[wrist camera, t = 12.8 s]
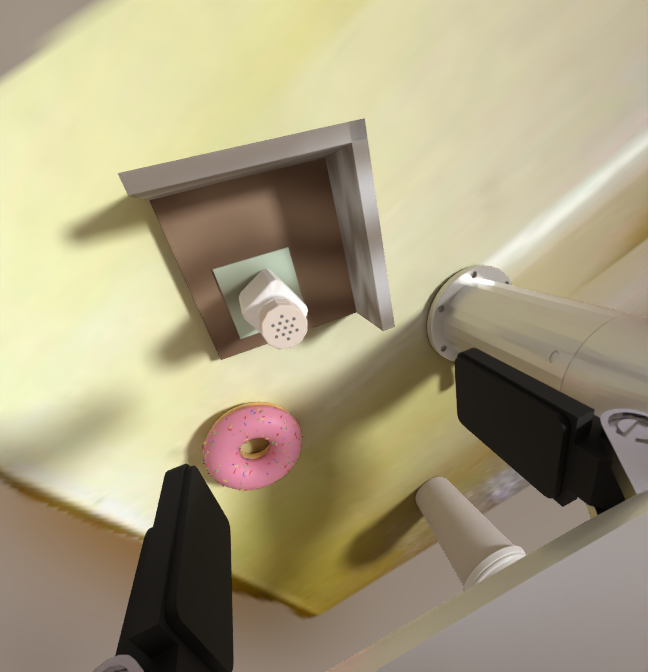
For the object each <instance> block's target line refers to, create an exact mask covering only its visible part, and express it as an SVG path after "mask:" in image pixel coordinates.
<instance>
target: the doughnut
mask: <svg viewBox="0 0 648 672" xmlns="http://www.w3.org/2000/svg"><path fill="white" fill-rule="evenodd" d="M302 437H303V436H302V432H301V429H300V426H299V424H298V422H297V420H295V418H294V417H293V416H292V415H291V413H289V412H288V411H287V410H285V409H284V408H282V407H280V406H278V405H275V404H272V403H267V402H252V403H246V404H243V405H240V406H237V407H235V408H233V409H231V410H229V411H228V412H226V413H225V414H223V415H222V416H221V417H220V418H219V419H218V420H217V421H216V422H215V423H214V425H213V426H212V428H211V429H210V431H209V433H208V435H206V439H205V442H204V446H203V450H202V451H203V457H204V460H203V461H204V462H205V463H203V464H205V465H206V467H207V469H208V470H207V471H209V472H210V473H208V474H211V475H212V477H213V478H214V479H215V480H217V482H219V483H221V484H222V485H223V487H224V486H227V487H230V488H233V489H238V490H242V491H243V490H245V491H246V490H254V489H258V488H262V487H265V486H268V485H270V484H272V483H274V482H277V481H278V480H279V479H281V478H282V477H283V476H284V475H286V474H287V473H288V472H289V471H290V469H291V468H292V467H293V466H294V464H295V463H296V461H297V459H298V457H299V454H300V450H301V446H302ZM254 438H263V439H264V440H266V439H267V440H269V442H270V444H269V445H268V446H267V448H265V449H264V450H262V451H260V452H258V453H254V454H247V453H243V452H241V451H240V449H241V448H240V446H241V445H242V444H244V443H246V442H248V440H251V439H254ZM296 464H297V463H296Z"/></svg>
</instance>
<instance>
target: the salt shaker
mask: <svg viewBox="0 0 648 672" xmlns="http://www.w3.org/2000/svg"><path fill="white" fill-rule="evenodd" d="M239 302H240V306H241V311H242V315H243V317H244V319H245V320H246V321H247V322H248V323H249V324H250V325H252V326H253V327H254V328H255V329H256V330H257V331H259V332H260V333H261V334H262V336H263V337H264V339H265V340H266V342H267V343H268V345H271V346H273V347H275V348H278V349H287V348H292V347H294V346H295V345H297V344H298V343H300V342H301V341H302V340H303V338H304V336H305V335H306V333H307V319H306V315H307V312H308V309H307V306H306V305H305V304H304V303H303V302H302V301H301V299H300V298H299V297H298V296H297V295H296V294H295V293H294V292H293V291H292V290H291V289H290V288H289V287H288V286H287V285H286V284H285V283H284V282H283V281H282V280H281V279H280V278H279V277H278V276H276V275H275V274H274V273H273V272H272V271H271V270H269V269H267V268H266V269H264V270H262V271H261V272H260V273H259V274H258V275H257V276H256V277H255V278H254V279H253V280H252V281H251V282H250V283H249V284H248V285H247V286H246V287H245V288H244V289H243V290H242V291H241V293H240V295H239Z"/></svg>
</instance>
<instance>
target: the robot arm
mask: <svg viewBox="0 0 648 672" xmlns="http://www.w3.org/2000/svg"><path fill="white" fill-rule="evenodd" d="M427 333H428V338H429V341H430V343H431V346H432V347H433V348H434V350H435V351H436V352H437V353H438V354H440V355H441V356H442V357H444V358H446V359H448V360H450V361H454V362H455V380H456V398H457V415H458V419H459V421H460V422H461V423H462V425H463V426H465V427H466V428H467V429H468V430H469V431H470V432H472V433H473V434H474V435H475V436H476V437H477V438H478V439H480V440H481V441H482V442H483V443H484V444H485V445H486V446H488V447H489V448H490V449H491V450H492V451H493V452H495V453H496V454H497V455H498V456H499V457H500V458H501V459H503V460H504V461H505V462H506V463H507V464H508V465H509V466H511V467H512V468H513V469H514V470H515V471H516V472H518V473H519V474H520V475H521V476H522V477H523V478H524V479H526V480H527V481H528V482H529V483H530V484H531V485H532V486H534V487H535V488H536V489H537V490H538V491H539V492H541V493H542V494H543V495H544V496H546V497H547V498H553V499H554V500H555V501H557V502H558V503H559V504H560V505H561V506H562V507H563V506H565V505H567V504H569V503H571V502H572V501H574V500H576V499H577V497H579V498H580V499H581V500H583V501H584V502H585V503H586V505H587V507H588V511H589V514H590V517H591V519H590V520H588V521H586V522H584V523H583V524H581V525H579V526H577V527H576V528H574V529H572V530H570V531H569V532H567V533H565V534H563V535H562V536H560V537H558V538H556V539H554V540H553V541H551V542H549V543H547V544H546V545H544V546H542V547H540V548H539V549H537V550H535V551H533V552H532V553H530V554H528V555H526V556H525V557H523V558H521V559H519V560H517V561H516V562H514V563H512V564H510V565H509V566H507V567H505V568H503V569H502V570H500V571H498V572H497V573H495V574H493V575H491V576H490V577H488V578H486V579H484V580H483V581H481V582H479V583H477V584H476V585H474V586H472V587H470V588H469V589H467V590H465V591H463V592H462V593H460V594H458V595H457V596H455V597H453V598H451V599H450V600H448V601H446V602H444V603H443V604H441V605H439V606H437V607H436V608H434V609H432V610H431V611H429V612H427V613H425V614H423V615H422V616H420V617H418V618H417V619H415V620H413V621H411V622H410V623H408V624H406V625H404V626H403V627H401V628H399V629H398V630H396V631H394V632H392V633H391V634H389V635H388V636H386V637H384V638H382V639H381V640H379V641H377V642H375V643H374V644H372V645H370V646H368V647H367V648H365V649H363V650H362V651H360V652H358V653H356V654H355V655H353V656H351V657H350V658H348V659H346V660H344V661H343V662H341V663H339V664H338V665H336V666H334V667H332V668H331V669H329V670H327V671H326V672H648V318H647V317H643V316H639V315H635V314H630V313H626V312H622V311H618V310H614V309H609V308H605V307H601V306H597V305H593V304H588V303H584V302H580V301H576V300H572V299H567V298H563V297H559V296H555V295H551V294H546V293H542V292H538V291H534V290H530V289H526V288H521V287H517V286H513V285H512V283H511V281H510V279H509V278H508V276H507V275H506V274H505V273H504V272H503V271H501V270H500V269H498V268H495V267H492V266H485V265H476V266H471V267H468V268H465V269H463V270H461V271H459V272H458V273H456V274H455V275H454V276H452V277H451V278H450V279H449V280H448V281H447V282H446V283H445V284H444V285H443V286H442V288H441V289H440V290H439V292H438V293H437V295H436V297H435V299H434V301H433V302H432V305H431V308H430V311H429V315H428V320H427ZM232 621H233V620H232V578H231V535H230V525H229V521H228V519H227V517H226V515H225V514H224V512H223V510H222V509H221V507H220V505H219V504H218V502H217V500H216V499H215V497H214V495H213V494H212V492H211V490H210V489H209V487H208V485H207V484H206V482H205V480H204V479H203V477H202V475H201V474H200V472H199V470H198V469H197V467H196V466H191V467H190V466H189V465H188V464H183V465H181V466H178V467H176V468H173V469H171V470H169V471H167V472H166V473H165V476H164V481H163V485H162V490H161V494H160V499H159V503H158V507H157V512H156V516H155V521H154V525H153V527H152V528H150V529H149V530H148V531H147V532H146V535H145V537H144V541H143V545H142V549H141V553H140V557H139V562H138V566H137V570H136V574H135V578H134V582H133V586H132V590H131V595H130V598H129V602H128V606H127V610H126V615H125V619H124V623H123V627H122V631H121V635H120V639H119V643H118V647H117V651H116V655H115V657H113V658H110V659H108V660H106V661H105V662H104V663H102V664H101V665H100V666H98V667H97V668H96V669H95V670H94V671H93V672H232V670H233V623H232Z"/></svg>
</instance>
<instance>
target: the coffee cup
mask: <svg viewBox="0 0 648 672" xmlns="http://www.w3.org/2000/svg"><path fill="white" fill-rule="evenodd" d="M415 500H416V503H417V505H418V507H419V509H420V510H421V512H422V514H423V516H424V517H425V519H426V521H427V523H428V524H429V526H430V528H431V530H432V531H433V533H434V535H435V537H436V539H437V540H438V542H439V544H440V546H441V547H442V549H443V551H444V553H445V554H446V556H447V558H448V560H449V561H450V563H451V565H452V567H453V569H454V570H455V572H456V574H457V576H458V577H459V579H460V581H461V583H462V585H463V587H464V588H463V591H465V590H467V589H469V588H470V587H472V586H474V585H476V584H477V583H479V582H481V581H483V580H484V579H486V578H488V577H490V576H491V575H493V574H495V573H497V572H498V571H500V570H502V569H503V568H505V567H507V566H509V565H510V564H512V563H514V562H516V561H517V560H519V559H521V558H523V557H525V556H526V554H525V552H524V551H523V549H522V548H521V547H519V546H514V545H513V544H512V543H511V542H510V541H509V540H508V539H507V538H506V537H505V536H504V535H503V534H502V533H501V532H499V530H497V528H496V527H494V525H493V524H491V522H489V521H488V520H487V519H486V518H485V517H484V516H483V515H482V514H481V513H480V512H479V511H478V510H477V509H476V508H475V507H474V506H473V505H472V504H471V503H470V502H469V501H468V500H467V499H466V498H465V497H464V496H463V495H462V494H461V493H460V492H459V491H458V490H457V489H456V488H455V487H454V486H453V485H452V484H451V483H450V482H449V481H448V480H447V479H446V478H444V477H435V478H432V479H430V480H428V481H427V482H425V483H424V484H423V485H422V486H421V487H420V488H419V490H418V492H417V494H416V497H415Z"/></svg>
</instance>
